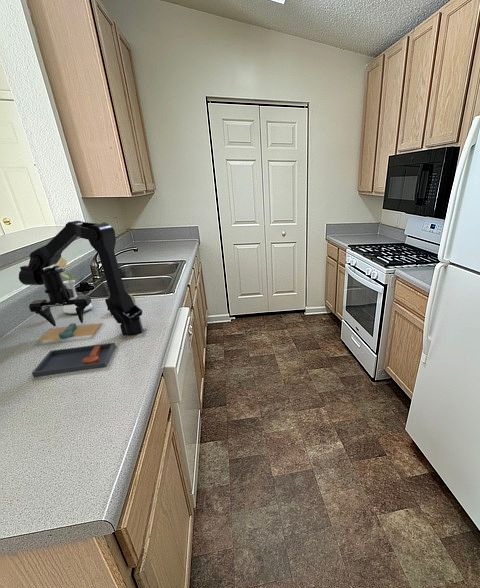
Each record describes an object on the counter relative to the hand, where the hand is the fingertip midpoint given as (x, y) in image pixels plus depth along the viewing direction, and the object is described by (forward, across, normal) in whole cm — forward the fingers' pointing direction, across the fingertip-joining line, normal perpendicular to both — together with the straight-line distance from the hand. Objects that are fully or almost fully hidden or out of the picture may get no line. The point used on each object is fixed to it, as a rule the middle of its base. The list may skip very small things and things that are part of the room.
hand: (68, 324), depth 127 cm
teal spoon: (+3, 0, +2) cm, 3 cm away
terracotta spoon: (+3, -15, +28) cm, 32 cm away
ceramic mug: (+4, -16, -20) cm, 26 cm away
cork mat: (+3, 0, +2) cm, 4 cm away
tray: (+3, -10, +28) cm, 30 cm away
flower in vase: (+4, +4, -24) cm, 25 cm away
